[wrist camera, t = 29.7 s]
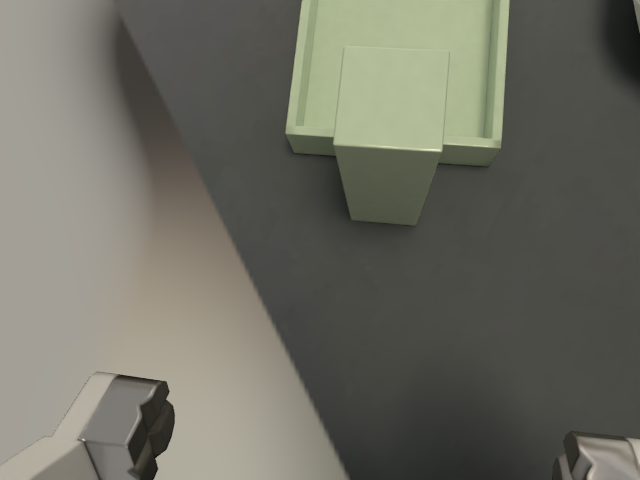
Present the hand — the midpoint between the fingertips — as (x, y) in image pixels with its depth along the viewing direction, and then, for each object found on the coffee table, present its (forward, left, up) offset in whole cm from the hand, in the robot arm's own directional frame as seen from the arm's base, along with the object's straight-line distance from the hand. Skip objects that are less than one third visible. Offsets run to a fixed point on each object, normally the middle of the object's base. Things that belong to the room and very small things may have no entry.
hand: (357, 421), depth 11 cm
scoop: (+4, +13, -13) cm, 19 cm away
